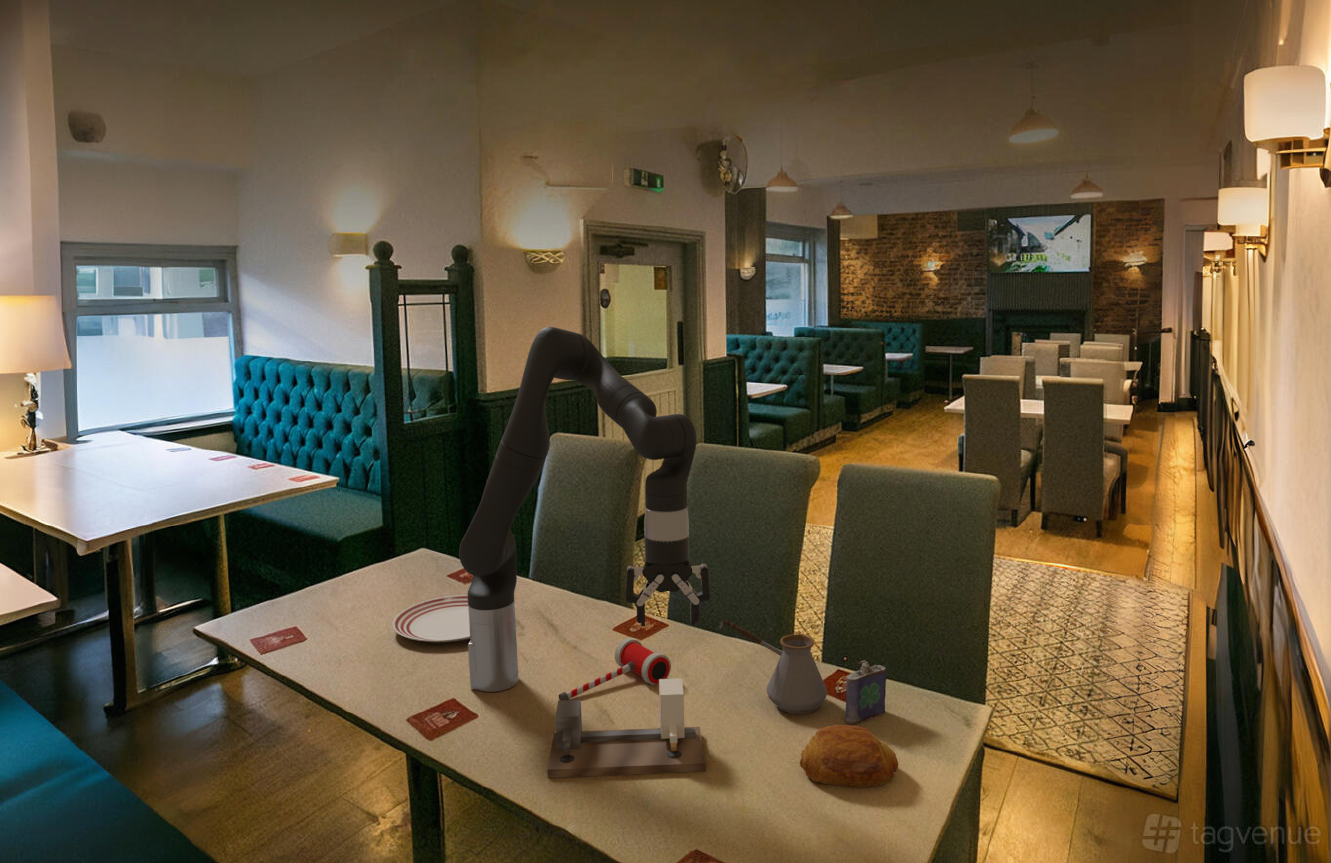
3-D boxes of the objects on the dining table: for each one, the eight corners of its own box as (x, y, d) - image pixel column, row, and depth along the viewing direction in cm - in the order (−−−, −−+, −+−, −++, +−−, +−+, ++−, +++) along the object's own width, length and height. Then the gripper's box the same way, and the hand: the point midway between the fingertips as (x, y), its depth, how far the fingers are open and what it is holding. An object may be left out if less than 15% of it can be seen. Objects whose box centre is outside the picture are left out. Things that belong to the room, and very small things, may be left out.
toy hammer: (576, 715, 162) (575, 684, 161) (546, 693, 171) (544, 663, 170) (672, 680, 176) (671, 651, 175) (638, 661, 185) (638, 633, 184)
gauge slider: (662, 751, 143) (660, 704, 142) (660, 723, 153) (659, 679, 151) (685, 750, 144) (685, 703, 142) (682, 722, 153) (681, 678, 152)
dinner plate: (498, 650, 192) (497, 636, 191) (376, 652, 192) (375, 638, 192) (520, 606, 219) (519, 593, 218) (413, 607, 219) (412, 595, 219)
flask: (851, 726, 155) (852, 671, 153) (840, 720, 158) (841, 665, 156) (888, 713, 160) (890, 659, 158) (877, 707, 162) (878, 653, 160)
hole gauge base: (547, 777, 141) (545, 735, 139) (554, 740, 152) (552, 700, 151) (705, 771, 142) (705, 729, 140) (699, 734, 153) (699, 695, 152)
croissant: (896, 810, 134) (905, 764, 132) (797, 789, 136) (804, 744, 135) (889, 758, 148) (897, 716, 146) (799, 740, 150) (805, 699, 148)
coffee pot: (833, 696, 167) (834, 623, 164) (818, 724, 156) (819, 646, 154) (730, 678, 175) (730, 608, 173) (709, 702, 165) (708, 629, 163)
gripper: (624, 540, 140) (626, 634, 143) (710, 538, 141) (711, 631, 144) (624, 527, 148) (626, 617, 150) (707, 525, 148) (707, 614, 151)
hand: (668, 624), depth 147 cm, fingers open, 8 cm apart
